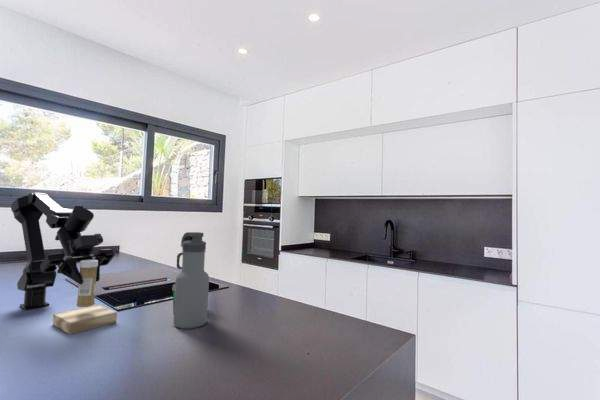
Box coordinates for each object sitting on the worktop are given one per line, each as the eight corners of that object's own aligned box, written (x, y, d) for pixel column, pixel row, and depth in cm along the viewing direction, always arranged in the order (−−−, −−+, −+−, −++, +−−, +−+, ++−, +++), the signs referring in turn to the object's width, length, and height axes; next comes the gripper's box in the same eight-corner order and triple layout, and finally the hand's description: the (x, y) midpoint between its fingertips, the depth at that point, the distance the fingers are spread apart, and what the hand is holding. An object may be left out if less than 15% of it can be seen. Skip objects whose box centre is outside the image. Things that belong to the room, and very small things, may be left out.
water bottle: (167, 322, 95) (171, 231, 96) (196, 315, 102) (200, 231, 103) (182, 332, 88) (187, 233, 89) (213, 324, 95) (217, 233, 96)
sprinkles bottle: (98, 303, 95) (101, 259, 95) (87, 308, 90) (91, 261, 91) (83, 302, 95) (87, 258, 96) (72, 307, 90) (76, 260, 91)
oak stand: (52, 324, 91) (53, 314, 91) (97, 314, 101) (98, 304, 101) (70, 334, 84) (71, 323, 84) (116, 322, 94) (116, 312, 94)
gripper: (48, 225, 87) (66, 269, 82) (113, 224, 104) (132, 261, 98) (32, 250, 90) (49, 295, 85) (98, 246, 107) (115, 282, 101)
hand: (90, 282), depth 92 cm, fingers closed on sprinkles bottle, 4 cm apart
